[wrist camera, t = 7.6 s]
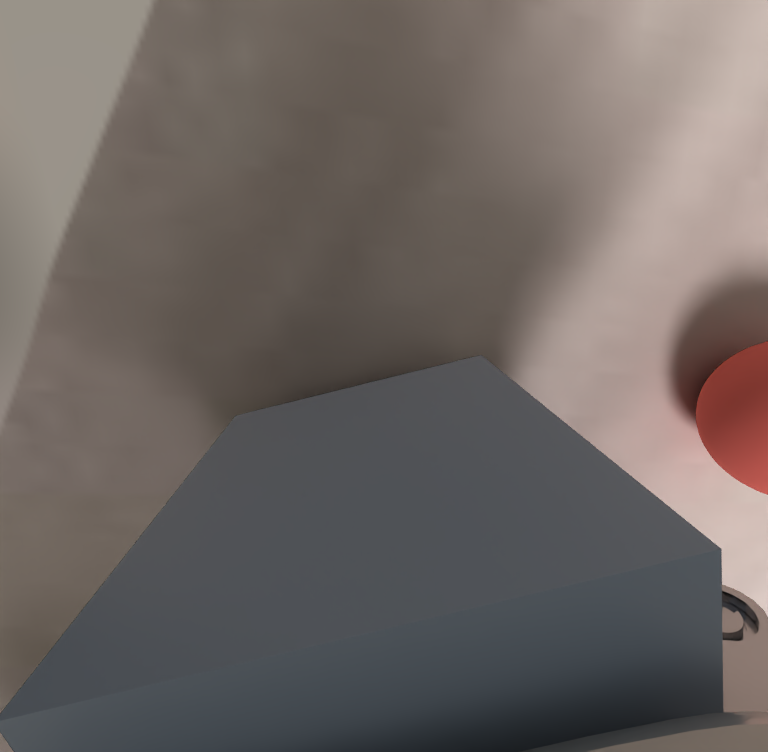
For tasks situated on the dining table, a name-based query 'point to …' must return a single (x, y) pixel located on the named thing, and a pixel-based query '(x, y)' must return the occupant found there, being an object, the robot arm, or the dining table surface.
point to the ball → (738, 416)
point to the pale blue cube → (390, 590)
